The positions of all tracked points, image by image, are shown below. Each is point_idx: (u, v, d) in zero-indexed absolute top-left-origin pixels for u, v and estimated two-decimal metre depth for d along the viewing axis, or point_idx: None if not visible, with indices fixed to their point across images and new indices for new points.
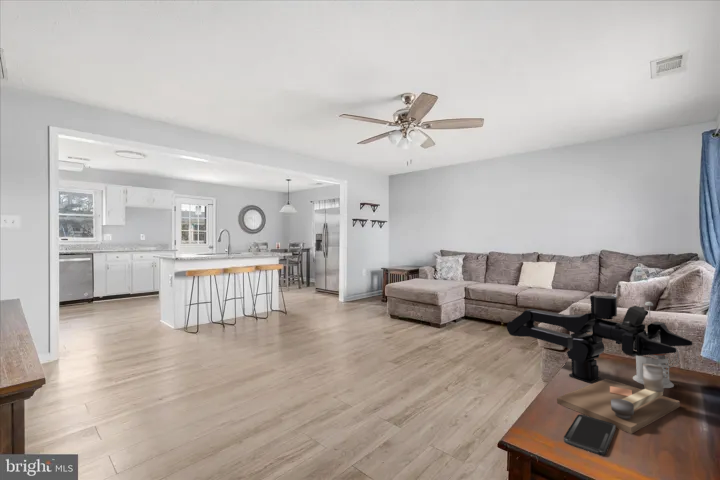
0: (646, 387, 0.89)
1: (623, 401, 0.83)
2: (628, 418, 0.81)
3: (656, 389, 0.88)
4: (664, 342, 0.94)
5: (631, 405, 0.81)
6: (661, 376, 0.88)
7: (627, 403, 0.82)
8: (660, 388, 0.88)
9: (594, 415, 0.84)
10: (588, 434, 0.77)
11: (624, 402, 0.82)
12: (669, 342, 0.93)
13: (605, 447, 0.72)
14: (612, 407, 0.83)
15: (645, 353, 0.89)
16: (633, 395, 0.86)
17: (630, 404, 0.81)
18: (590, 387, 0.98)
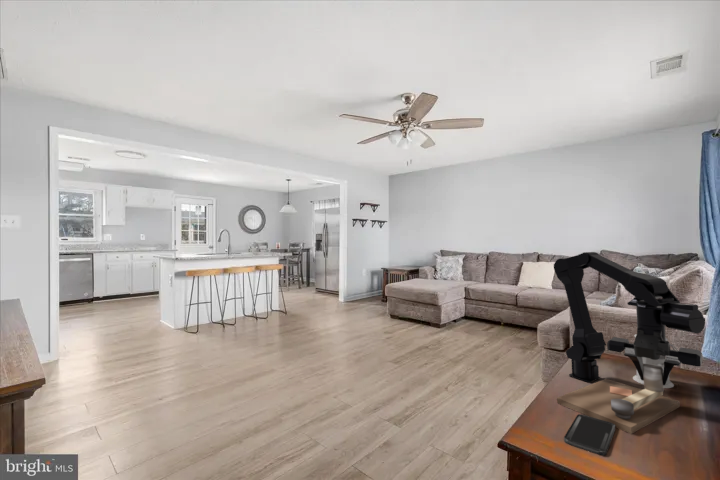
0: (646, 387, 0.89)
1: (623, 401, 0.83)
2: (628, 418, 0.81)
3: (656, 389, 0.88)
4: None
5: (631, 405, 0.81)
6: (661, 376, 0.88)
7: (627, 403, 0.82)
8: (660, 388, 0.88)
9: (594, 415, 0.84)
10: (588, 434, 0.77)
11: (624, 402, 0.82)
12: None
13: (605, 447, 0.72)
14: (612, 407, 0.83)
15: None
16: (633, 395, 0.86)
17: (630, 404, 0.81)
18: (590, 387, 0.98)
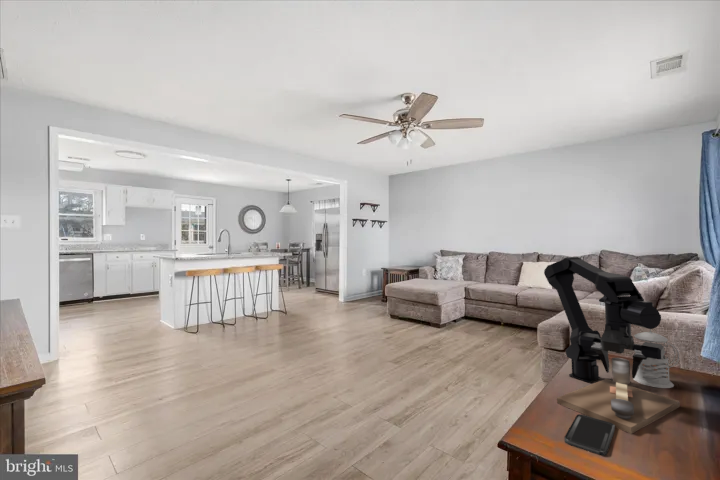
0: (617, 381, 0.94)
1: (621, 400, 0.83)
2: (628, 418, 0.81)
3: (626, 381, 0.93)
4: None
5: (631, 404, 0.81)
6: (629, 368, 0.94)
7: (625, 402, 0.82)
8: (629, 380, 0.93)
9: (594, 415, 0.84)
10: (588, 434, 0.77)
11: (623, 402, 0.82)
12: None
13: (606, 447, 0.72)
14: (615, 409, 0.82)
15: None
16: (618, 392, 0.88)
17: (629, 403, 0.82)
18: (590, 387, 0.98)
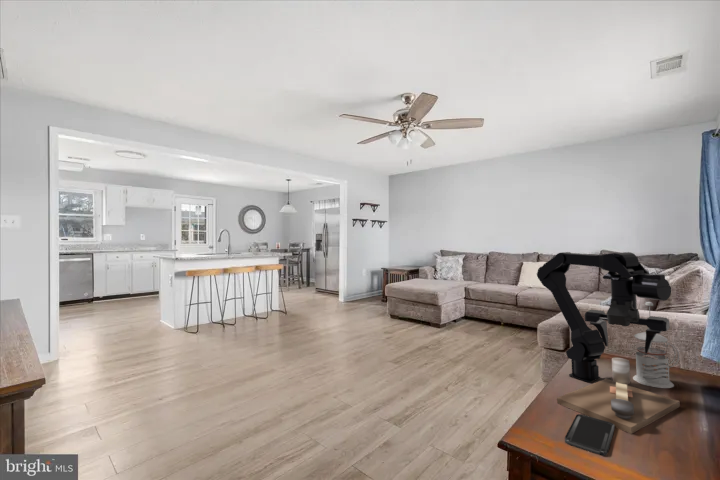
0: (617, 381, 0.94)
1: (621, 400, 0.83)
2: (628, 418, 0.81)
3: (626, 381, 0.93)
4: None
5: (631, 404, 0.81)
6: (629, 368, 0.94)
7: (625, 402, 0.82)
8: (629, 380, 0.93)
9: (594, 415, 0.84)
10: (588, 434, 0.77)
11: (623, 402, 0.82)
12: None
13: (606, 447, 0.72)
14: (615, 409, 0.82)
15: None
16: (618, 392, 0.88)
17: (629, 403, 0.82)
18: (590, 387, 0.98)
